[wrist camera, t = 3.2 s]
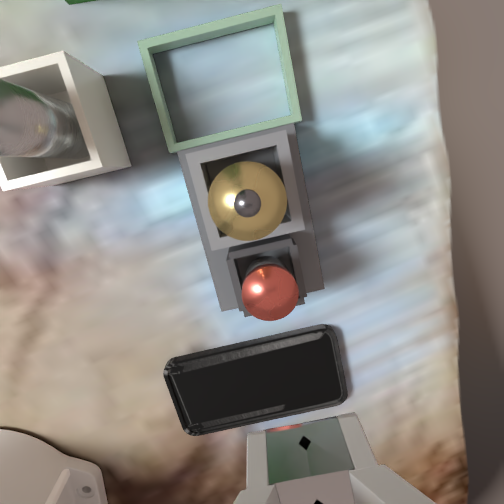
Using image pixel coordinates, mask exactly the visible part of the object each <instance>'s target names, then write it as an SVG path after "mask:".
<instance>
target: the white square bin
mask: <svg viewBox="0 0 504 504" xmlns="http://www.w3.org/2000/svg"><path fill="white" fill-rule="evenodd" d="M0 79H2V80H5V81H8V82H11V83H14V84H16V85H19V86H22V87H25V88H28V89H31V90H34V91H36V92H39V93H42V94H45V95H48V96H51V97H54V98H56V99H59V100H62V101H65V102H68V103H71V104H72V106H73V108H74V111H75V114H76V117H77V120H78V123H79V126H80V129H81V131H82V134H83V137H84V140H85V143H86V146H87V149H88V152H89V154H90V155H88V156H87V157H84V158H81V159H62V158H33V157H4V156H0V185H1V188H2V190H3V191H10V190H19V189H28V188H38V187H47V186H54V185H58V184H62V183H66V182H70V181H74V180H78V179H82V178H86V177H91V176H95V175H99V174H103V173H107V172H111V171H115V170H119V169H123V168H128V167H132V166H131V163H130V160H129V156H128V153H127V150H126V147H125V144H124V141H123V138H122V134H121V131H120V128H119V125H118V122H117V119H116V116H115V112H114V109H113V106H112V103H111V100H110V97H109V94H108V90H107V87H106V84H105V81H104V78H103V75H101V74H100V73H98V72H96V71H95V70H93V69H92V68H90V67H88V66H87V65H85V64H84V63H82V62H80V61H79V60H77V59H76V58H74V57H72V56H71V55H69V54H68V53H66V52H64V51H60V52H56V53H52V54H48V55H45V56H41V57H37V58H33V59H29V60H26V61H22V62H18V63H14V64H10V65H6V66H3V67H0Z"/></svg>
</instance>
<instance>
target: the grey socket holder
mask: <svg viewBox="0 0 504 504" xmlns="http://www.w3.org/2000/svg"><path fill="white" fill-rule="evenodd" d="M177 154H178V157H179V161H180V164H181V168H182V172H183V175H184V179H185V182H186V186H187V190H188V193H189V197H190V200H191V204H192V207H193V211H194V215H195V218H196V222H197V225H198V229H199V232H200V236H201V240H202V243H203V247H204V250H205V254H206V258H207V261H208V265H209V268H210V272H211V275H212V279H213V283H214V286H215V290H216V293H217V297H218V300H219V304H220V308H221V311H227V310H231V309H236V308H239V311H243V312H244V316H245V317H247V316H252V315H251V314H250V313H249V312H248V311H247V309H246V308H245V306H244V304H243V301H242V285H243V282H244V279H245V274H246V270H247V268H248V266H249V264H250V263H251V262H252V261H253V260H255V259H256V258H259V257H261V256H273V257H276V258H278V259H280V260H281V261H282V262H283V263H284V264H285V266H286V267H287V270H288V271H289V272H290V273H291V274H292V275H293V277H294V279H295V281H296V283H297V286H298V290H299V297H298V301H297V304H296V306H298V305H302V304H305V302H304V297H307V294H306V293H308V292H312V291H317V290H322V289H325V288H324V283H323V277H322V272H321V267H320V261H319V256H318V250H317V245H316V240H315V234H314V229H313V223H312V218H311V213H310V207H309V202H308V196H307V191H306V186H305V180H304V175H303V169H302V164H301V158H300V153H299V148H298V142H297V137H296V131H295V126H294V123H292V124H288V125H283V126H279V127H275V128H271V129H267V130H263V131H259V132H255V133H251V134H247V135H242V136H238V137H234V138H230V139H226V140H222V141H218V142H214V143H210V144H206V145H202V146H197V147H193V148H189V149H185V150H181V151H177ZM243 161H251V162H257V163H260V164H263V165H265V166H267V167H269V168H270V169H271V170H273V171H274V172H275V173H276V174H277V175H278V177H279V178H280V179H281V181H282V183H283V185H284V187H285V190H286V195H287V207H286V212H285V215H284V218H283V220H282V221H281V223H280V224H279V226H278V227H277V228H276V229H275V230H274V231H273V232H272V233H271V234H269V235H267V236H266V237H263V238H261V239H258V240H253V241H241V240H237V239H234V238H231V237H229V236H227V235H226V234H224V233H223V232H222V231H221V230H220V229H219V228H218V227H217V226H216V225H215V223H214V222H213V220H212V218H211V216H210V213H209V208H208V194H209V189H210V187H211V184H212V182H213V180H214V179H215V177H216V176H217V175H218V174H219V173H220V172H221V171H222V170H223V169H225V168H226V167H228V166H230V165H232V164H234V163H237V162H243Z"/></svg>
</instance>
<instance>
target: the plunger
mask: <svg viewBox="0 0 504 504" xmlns="http://www.w3.org/2000/svg"><path fill="white" fill-rule="evenodd" d="M298 297H299V290H298V286H297V283H296V281H295V279H294V277H293V275H292V274H291V273H290V272H289V271H288V270H287V267H286V266H285V264H284V263H283V262H282V261H281V260H280V259H278V258H276V257H273V256H261V257H259V258H256V259H255V260H253V261H252V262H251V263H250V264H249V266H248V268H247V270H246V274H245V279H244V282H243V285H242V301H243V304H244V306H245V308H246V309H247V311H248V312H249V313H250V314H251V315H253V316H254V317H256V318H258V319H261V320H265V321H274V320H278V319H281V318H283V317H285V316H287V315H288V314H289V313H290V312H292V310H293V309H294V308H295V306H296V304H297V301H298Z"/></svg>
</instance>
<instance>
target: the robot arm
mask: <svg viewBox="0 0 504 504" xmlns="http://www.w3.org/2000/svg"><path fill="white" fill-rule="evenodd" d="M0 504H108V503H107V497H106V492H105V487H104V482H103V477H102V472H101V470H100V468H99V467H98V466H97V465H95V464H93V463H91V462H88V461H85V460H81V459H78V458H74V457H69V456H67V455H65V454H63V453H61V452H59V451H58V450H56V449H55V448H53V447H52V446H50V445H48V444H47V443H45V442H43V441H41V440H39V439H37V438H34V437H32V436H29V435H26V434H23V433H20V432H15V431H10V430H3V429H0ZM233 504H436V503H435V502H433V501H432V500H431V499H430V498H428V497H427V496H426V495H424V494H423V493H422V492H420V491H419V490H418V489H416V488H415V487H414V486H412V485H411V484H410V483H408V482H407V481H406V480H404V479H403V478H402V477H400V476H399V475H398V474H396V473H395V472H394V471H392V470H391V469H390V468H388V467H387V466H386V465H385V464H384V465H378V463H377V461H376V459H375V456H374V454H373V452H372V449H371V447H370V445H369V442H368V440H367V437H366V435H365V433H364V430H363V428H362V426H361V423H360V421H359V419H358V416H357V414H356V413H355V412H353V413H348V414H344V415H339V416H337V417H336V416H335V417H330V418H325V419H320V420H315V421H310V422H305V423H301V424H296V425H290V426H284V427H278V428H272V429H266V430H263V431H256V432H250V433H248V436H247V478H246V490H242V491H240V493H239V494H238V496H237V498H236V499H235V501H234V503H233Z"/></svg>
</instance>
